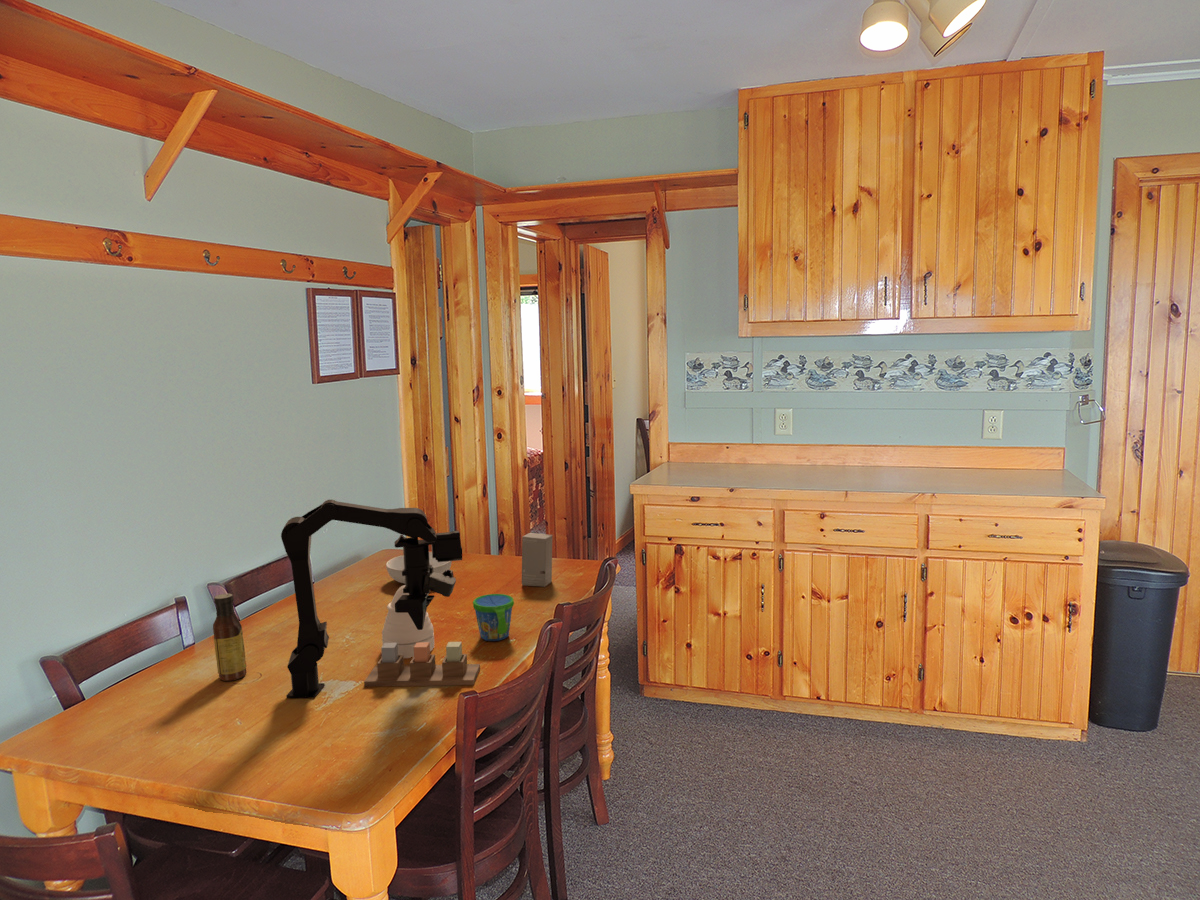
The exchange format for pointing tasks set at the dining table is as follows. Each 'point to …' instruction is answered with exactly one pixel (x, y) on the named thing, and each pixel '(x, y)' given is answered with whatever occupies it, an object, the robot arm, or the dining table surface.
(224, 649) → the sauce bottle
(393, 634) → the honey pot
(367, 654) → the dining table surface
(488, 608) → the snack cup
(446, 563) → the serving bowl
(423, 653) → the orange rectangular block
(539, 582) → the skincare box
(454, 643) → the beige rectangular block
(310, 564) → the robot arm
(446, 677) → the brown block rack
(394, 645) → the grey chamfered block
